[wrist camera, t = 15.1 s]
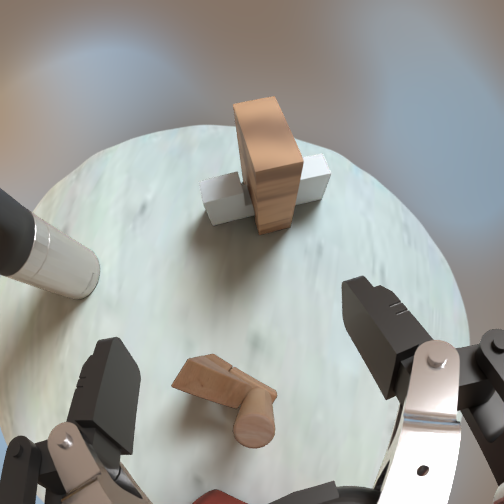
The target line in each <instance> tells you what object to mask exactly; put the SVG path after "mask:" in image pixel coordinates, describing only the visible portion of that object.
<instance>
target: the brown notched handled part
mask: <svg viewBox="0 0 504 504" xmlns="http://www.w3.org/2000/svg"><path fill="white" fill-rule="evenodd" d="M171 386H172V387H173V388H176V389H178V390H181V391H184V392H187V393H189V394H192V395H195V396H198V397H201V398H204V399H207V400H210V401H213V402H216V403H219V404H222V405H225V406H228V407H232V408H235V409H237V408H238V407H239V405H240V404H241V407H240V410H239V412H238V415H237V418H236V420H235V423H234V426H233V433H234V437H235V438H236V440H237V441H238V442H239V443H240V444H241V445H243V446H245V447H248V448H260V447H263V446H265V445H267V444H268V443H269V442H270V441H271V440H272V439H273V437H274V435H275V423H274V414H273V406H272V404H273V402H274V401H275V399H276V398H277V392H276V390H274V389H272V388H270V387H269V386H267V385H265V384H263V383H261V382H260V381H258V380H256V379H254V378H253V377H251V376H249V375H248V374H246V373H244V372H242V371H241V370H239V369H237V368H236V367H233V368H232V365H231V364H229V363H227V362H226V361H224V360H223V359H221V358H219V357H218V356H216V355H215V354H209V355H205V356H199V357H194V358H190V359H187V361H186V363H185V364H184V366H183V367H182V369H181V371H180V372H179V374H178V375H177V377H176V379H175V380H174V382H173V383H172V385H171Z"/></svg>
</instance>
